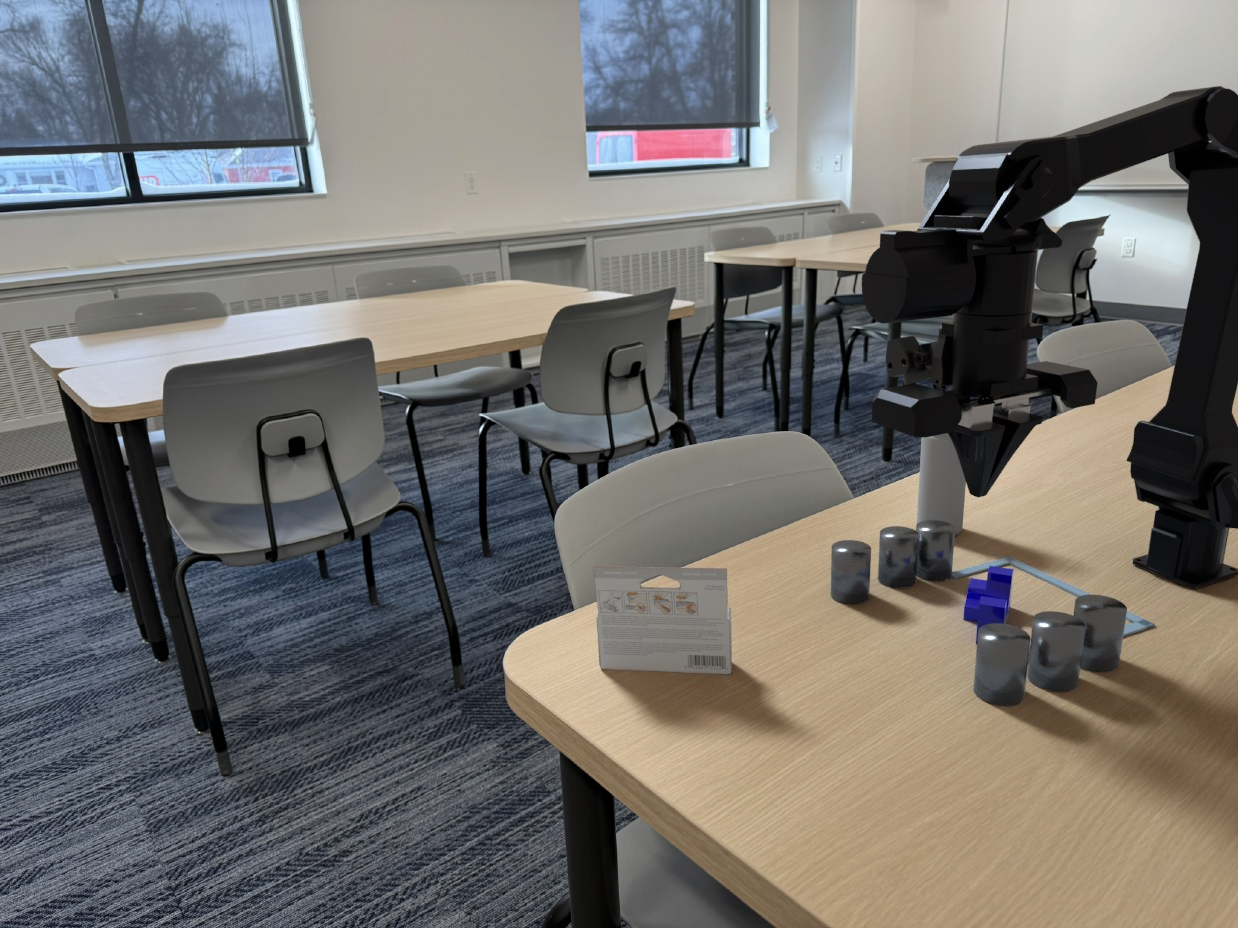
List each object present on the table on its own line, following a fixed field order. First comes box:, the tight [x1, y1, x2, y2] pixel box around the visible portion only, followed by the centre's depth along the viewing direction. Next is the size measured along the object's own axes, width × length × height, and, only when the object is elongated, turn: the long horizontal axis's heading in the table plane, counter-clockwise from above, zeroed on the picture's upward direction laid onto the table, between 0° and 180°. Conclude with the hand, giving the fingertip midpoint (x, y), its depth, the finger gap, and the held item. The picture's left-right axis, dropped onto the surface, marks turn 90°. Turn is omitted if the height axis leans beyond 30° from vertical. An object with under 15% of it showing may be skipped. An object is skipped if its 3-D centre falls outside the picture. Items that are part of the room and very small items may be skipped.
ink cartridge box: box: [592, 565, 733, 675], centre depth 71 cm, size 2×11×10 cm, turn 80°
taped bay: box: [951, 556, 1155, 637], centre depth 79 cm, size 8×16×1 cm, turn 22°
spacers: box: [830, 520, 1128, 707], centre depth 75 cm, size 14×23×5 cm, turn 22°
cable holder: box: [962, 566, 1014, 645], centre depth 75 cm, size 8×4×4 cm, turn 152°
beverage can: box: [916, 433, 967, 536], centre depth 94 cm, size 5×5×12 cm
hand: (977, 495), depth 73 cm, fingers closed
